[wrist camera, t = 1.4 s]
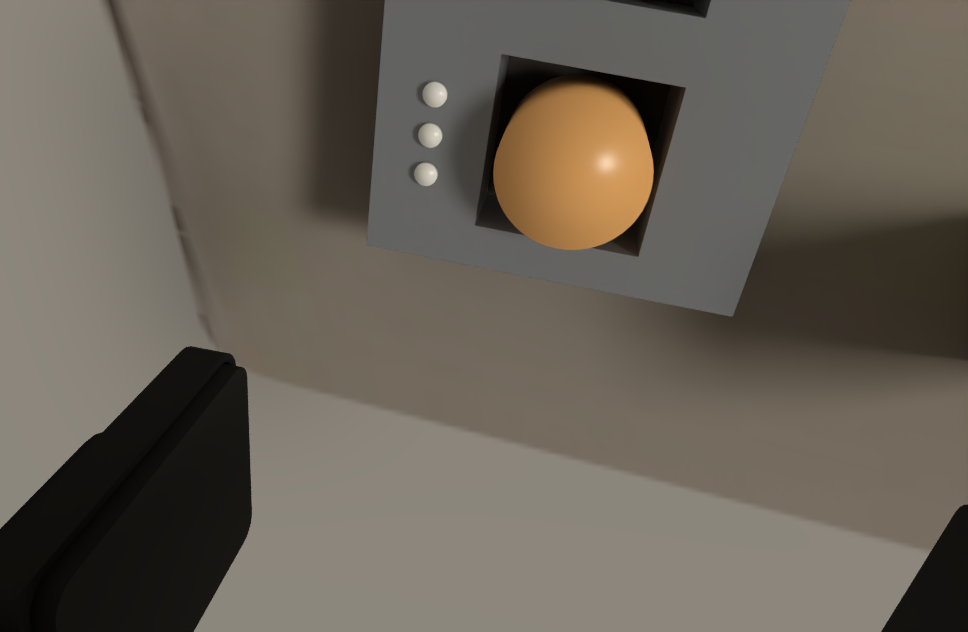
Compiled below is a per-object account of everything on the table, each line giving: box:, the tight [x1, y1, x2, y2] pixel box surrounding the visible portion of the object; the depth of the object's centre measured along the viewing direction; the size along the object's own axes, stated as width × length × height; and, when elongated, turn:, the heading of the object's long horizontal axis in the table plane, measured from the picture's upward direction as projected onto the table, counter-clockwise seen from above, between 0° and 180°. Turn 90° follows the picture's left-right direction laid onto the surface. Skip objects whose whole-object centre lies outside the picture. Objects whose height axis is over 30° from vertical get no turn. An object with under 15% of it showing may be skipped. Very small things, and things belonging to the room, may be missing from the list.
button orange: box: [493, 74, 654, 250], centre depth 21 cm, size 4×4×3 cm
